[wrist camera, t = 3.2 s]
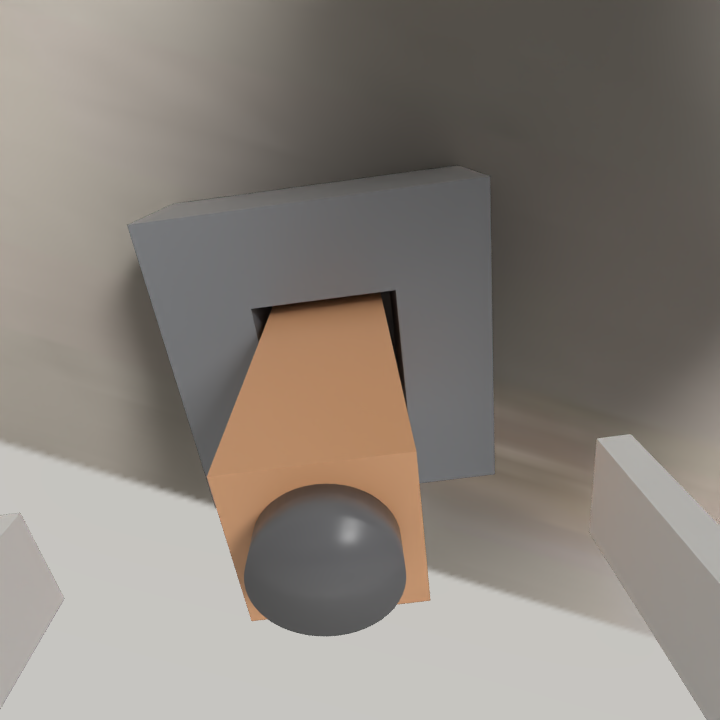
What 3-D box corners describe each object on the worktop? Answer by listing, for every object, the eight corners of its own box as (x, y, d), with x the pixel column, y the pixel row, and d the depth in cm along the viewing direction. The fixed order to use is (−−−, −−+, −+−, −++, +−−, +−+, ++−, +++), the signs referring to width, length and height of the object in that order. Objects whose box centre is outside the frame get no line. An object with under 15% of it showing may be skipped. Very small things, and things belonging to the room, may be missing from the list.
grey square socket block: (173, 203, 21) (127, 224, 17) (458, 165, 21) (490, 175, 16) (237, 441, 26) (215, 507, 22) (468, 413, 26) (494, 474, 21)
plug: (280, 287, 22) (193, 511, 9) (376, 275, 22) (423, 483, 9) (297, 374, 24) (243, 662, 11) (386, 363, 24) (438, 640, 11)
